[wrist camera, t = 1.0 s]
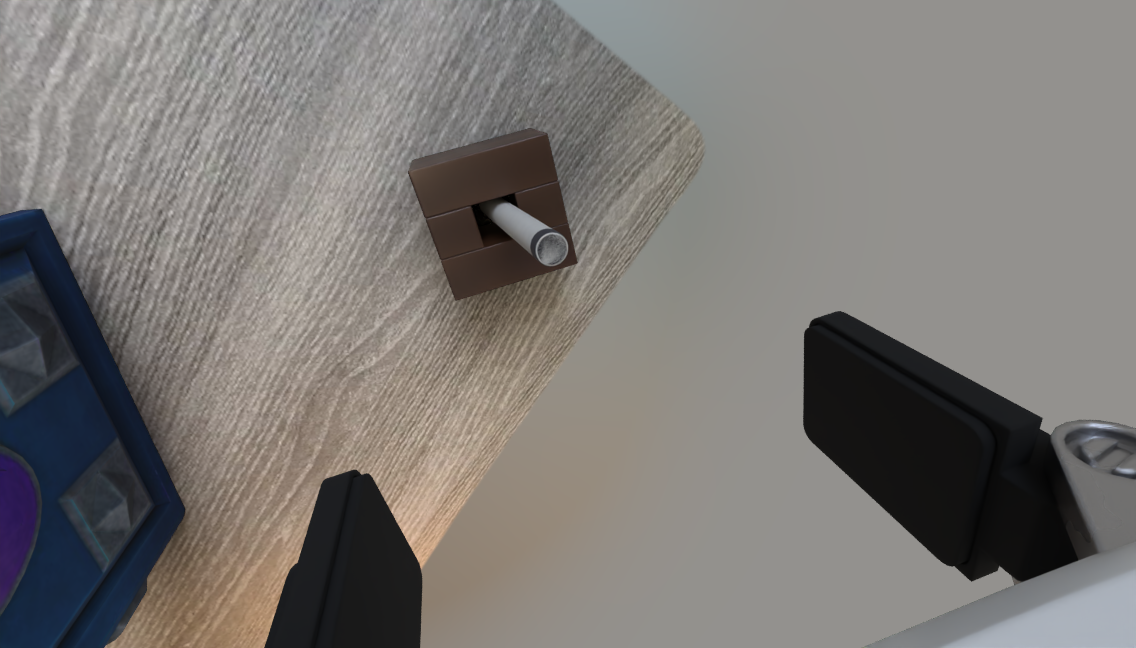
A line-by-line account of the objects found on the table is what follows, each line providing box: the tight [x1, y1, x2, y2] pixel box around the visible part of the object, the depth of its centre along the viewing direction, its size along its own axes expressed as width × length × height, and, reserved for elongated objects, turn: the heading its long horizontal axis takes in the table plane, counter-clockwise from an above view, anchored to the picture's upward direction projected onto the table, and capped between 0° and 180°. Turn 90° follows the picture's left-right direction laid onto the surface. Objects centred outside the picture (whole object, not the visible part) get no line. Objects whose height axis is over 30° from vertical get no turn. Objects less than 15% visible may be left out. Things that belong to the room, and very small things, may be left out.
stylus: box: [479, 197, 568, 266], centre depth 25 cm, size 1×1×13 cm
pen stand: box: [408, 128, 578, 301], centre depth 29 cm, size 7×7×5 cm
